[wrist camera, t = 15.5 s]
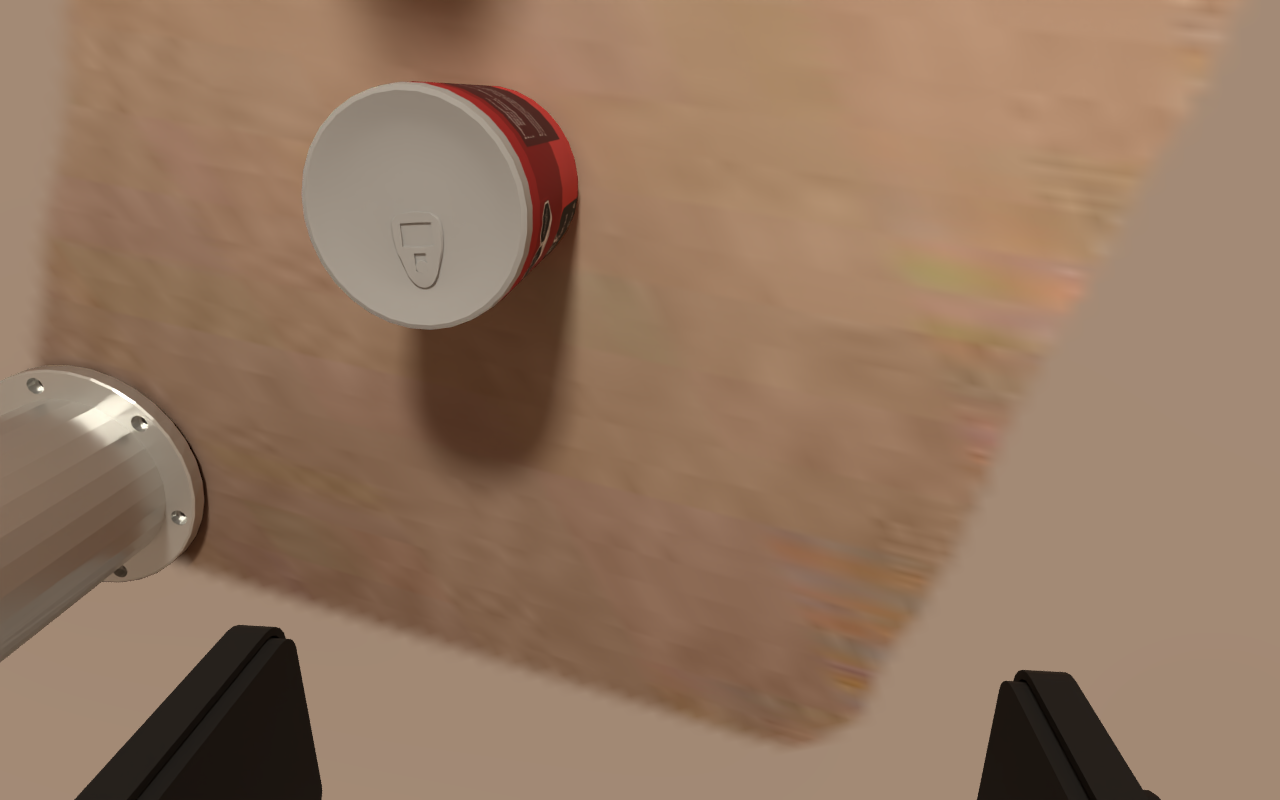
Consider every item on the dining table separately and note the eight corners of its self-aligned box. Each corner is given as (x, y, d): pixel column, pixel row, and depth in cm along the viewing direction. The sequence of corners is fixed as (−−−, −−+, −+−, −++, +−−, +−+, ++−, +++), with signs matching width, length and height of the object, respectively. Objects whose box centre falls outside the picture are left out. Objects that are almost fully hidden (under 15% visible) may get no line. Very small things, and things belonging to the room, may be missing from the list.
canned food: (456, 287, 38) (361, 358, 28) (386, 119, 36) (254, 129, 25) (606, 238, 37) (565, 294, 26) (545, 59, 34) (472, 44, 24)
